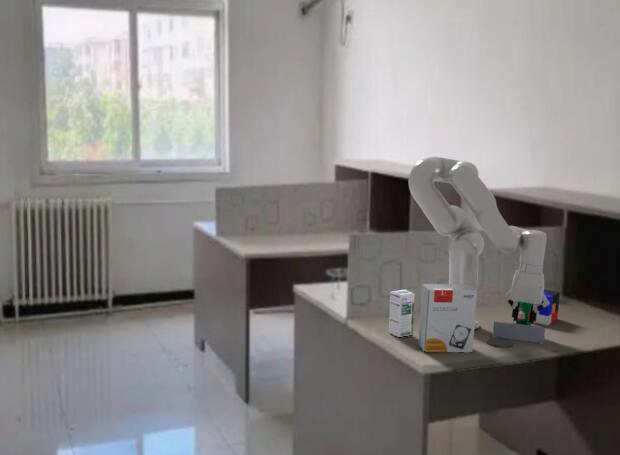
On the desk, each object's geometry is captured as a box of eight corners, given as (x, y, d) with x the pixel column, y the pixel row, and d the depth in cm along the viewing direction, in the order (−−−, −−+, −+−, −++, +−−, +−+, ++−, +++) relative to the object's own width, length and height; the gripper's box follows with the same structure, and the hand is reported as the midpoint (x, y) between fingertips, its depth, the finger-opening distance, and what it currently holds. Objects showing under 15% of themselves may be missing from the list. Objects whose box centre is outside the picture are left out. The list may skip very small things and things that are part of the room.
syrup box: (399, 338, 243) (401, 294, 241) (388, 333, 248) (390, 290, 246) (413, 336, 246) (415, 292, 244) (401, 331, 251) (403, 288, 249)
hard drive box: (423, 353, 230) (427, 289, 226) (417, 345, 237) (421, 283, 234) (473, 353, 232) (477, 289, 228) (466, 344, 239) (470, 283, 236)
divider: (492, 337, 247) (493, 322, 246) (493, 334, 250) (494, 320, 249) (543, 344, 241) (544, 329, 240) (544, 341, 244) (545, 326, 243)
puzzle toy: (547, 325, 262) (549, 297, 260) (519, 319, 268) (521, 292, 266) (557, 319, 270) (559, 292, 268) (530, 313, 276) (532, 287, 274)
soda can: (511, 327, 252) (515, 292, 250) (523, 326, 254) (527, 292, 252) (521, 332, 248) (525, 297, 245) (533, 331, 250) (538, 296, 247)
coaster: (485, 345, 239) (485, 343, 239) (488, 337, 246) (489, 336, 246) (511, 348, 236) (511, 346, 236) (514, 341, 243) (514, 339, 243)
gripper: (502, 266, 246) (495, 319, 250) (556, 274, 241) (549, 329, 244) (505, 261, 253) (498, 313, 257) (558, 269, 247) (551, 323, 251)
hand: (523, 320), depth 250 cm, fingers closed on soda can, 5 cm apart
